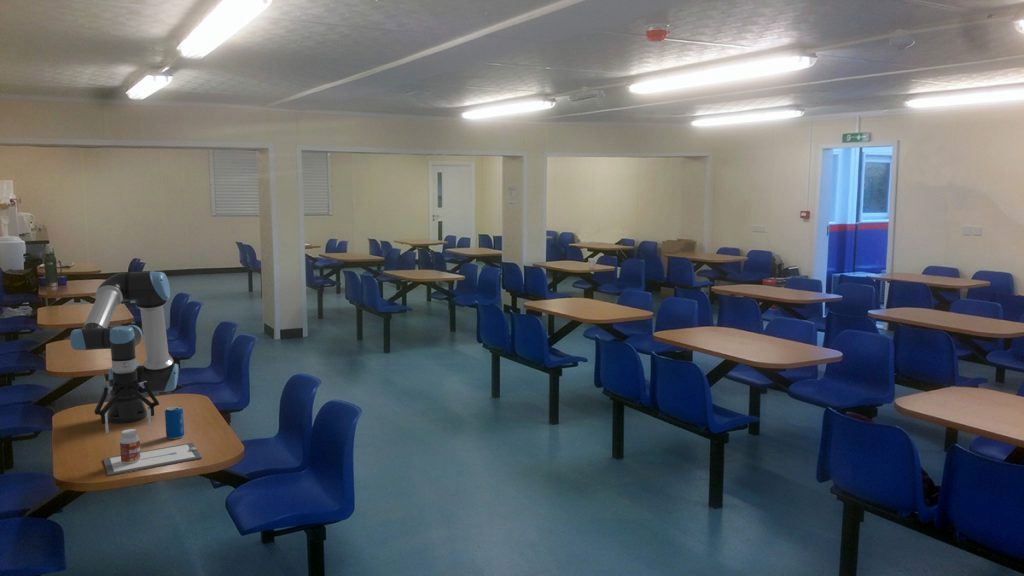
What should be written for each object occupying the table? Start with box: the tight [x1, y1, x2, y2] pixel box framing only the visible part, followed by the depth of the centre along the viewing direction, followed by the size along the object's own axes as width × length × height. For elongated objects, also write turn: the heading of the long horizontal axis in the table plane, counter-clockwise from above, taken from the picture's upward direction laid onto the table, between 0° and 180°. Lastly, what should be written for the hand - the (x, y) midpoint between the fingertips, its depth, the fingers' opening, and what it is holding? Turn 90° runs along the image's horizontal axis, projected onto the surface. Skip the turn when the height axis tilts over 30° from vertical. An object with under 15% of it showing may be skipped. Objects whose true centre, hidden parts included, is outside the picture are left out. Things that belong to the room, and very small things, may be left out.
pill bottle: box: [119, 428, 141, 464], centre depth 261 cm, size 6×6×11 cm
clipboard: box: [102, 442, 203, 477], centre depth 266 cm, size 18×30×1 cm, turn 124°
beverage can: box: [164, 405, 185, 440], centre depth 289 cm, size 6×6×12 cm
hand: (128, 428), depth 261 cm, fingers open, 13 cm apart
